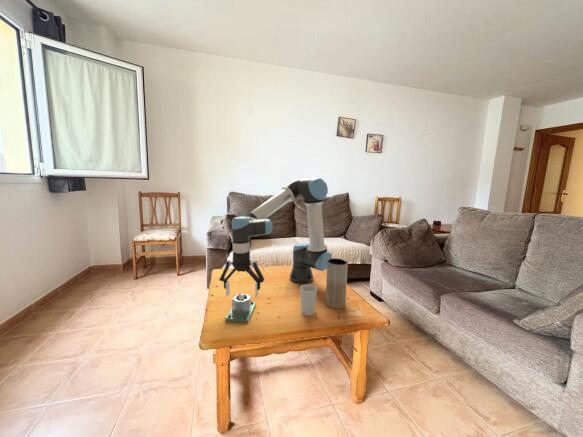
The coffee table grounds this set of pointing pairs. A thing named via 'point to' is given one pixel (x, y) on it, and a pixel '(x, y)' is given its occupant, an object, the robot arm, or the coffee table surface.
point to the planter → (336, 283)
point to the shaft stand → (240, 317)
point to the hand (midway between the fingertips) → (242, 295)
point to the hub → (241, 304)
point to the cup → (308, 299)
